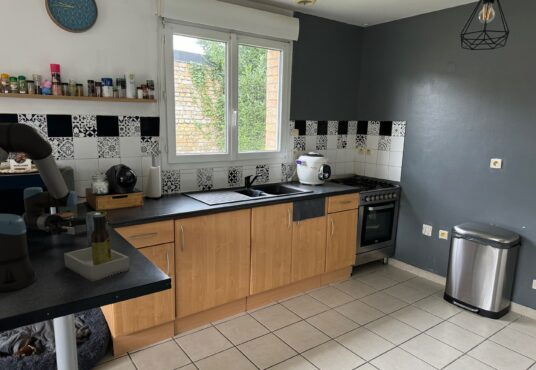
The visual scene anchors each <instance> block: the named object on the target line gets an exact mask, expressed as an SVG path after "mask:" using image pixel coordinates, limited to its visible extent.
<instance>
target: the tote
mask: <svg viewBox="0 0 536 370" xmlns="http://www.w3.org/2000/svg"><path fill="white" fill-rule="evenodd" d="M63 255H64V256H63V258H64V267H66V268H67V269H69V270H71V271H73V272H75V273H76V274H78V275H79V274H80V275H79V276H81V277H83V278H85V279H87V280H88V281H90V282H91V283H92V282H93V283H94V282H95V281H99V280H102V279H105V277H106V278H108V276H109V277H112V276H115V275H118V274H117V273H119V274H121V273H120V272H122V273H124V271H125V272H127V270H128V271H130V256H127V255H125V254H123V253H121V252H118V251H116V250H113V249H112V248H111V257H112V261H110V262H106V263H103V264H99V265H95V266H94V265H93V256H92V247H89V248H88V247H85V248H81V249H78V250H72V251H68V252H64V254H63ZM114 274H115V275H114ZM111 275H112V276H111Z"/></svg>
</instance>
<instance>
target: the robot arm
mask: <svg viewBox="0 0 536 370" xmlns="http://www.w3.org/2000/svg"><path fill="white" fill-rule="evenodd" d="M53 151H54V150H53V146H52V144H51V143H50V141H49V140H48V139H47V137H46V136H45V135H44V134H43V133H42V132H41V131H39V130H38V129H36V128H34V127H33V126H32V125H30V124H26V123H23V122H0V167H1V166H2V163H4V162H6V161H8V159H9V156H10V154H24V155H26V157H27V159H28V160H30V161H32V162H33V164H34V167H35V168H36V170H37V171H38V173H39V176H40V177H41V179H42V181H43V183H44V185H45V188H46V189H47V191H43V187H40V186H32V187H26V188H25V189H24V190H23V201H24V202H23V203H24V211H25V212H24V213H23V214H22V215H21V216H20V215H17V214H13V213H12V214H11V213H0V293H6V292H12V291H16V290H19V289H24V288H26V287H28V286H30V285H32V284H34V283H35V282H36V280H37V272H36V270H35V268H34V267H33V264H32V263H31V260H30V258H29V250H28V240H27V237H28V236H27V229H31V230H41V231H45V232H50V233H52V234H53V235H57V233H58V236H61V235H62V234H67V235H76V228H75V227H73V226H81V225H82V226H84V225H85V226H86V217H77V218H70V219H63V218H62V217H61V216H59V215H52V214H53V213H52V214H51V213H45V209H46V208H58V207H74V206H75V205H76V206H77V203H78V193H77V192H76V190H75V191H69V190H68V188H67V186H66V184H65V182H64V180H63V177H62V175H61V173H60V171H59V169H58V168H59V167H58V164H57V162H56V160H55V158H54V156H53ZM70 223H71V225H70Z"/></svg>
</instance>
